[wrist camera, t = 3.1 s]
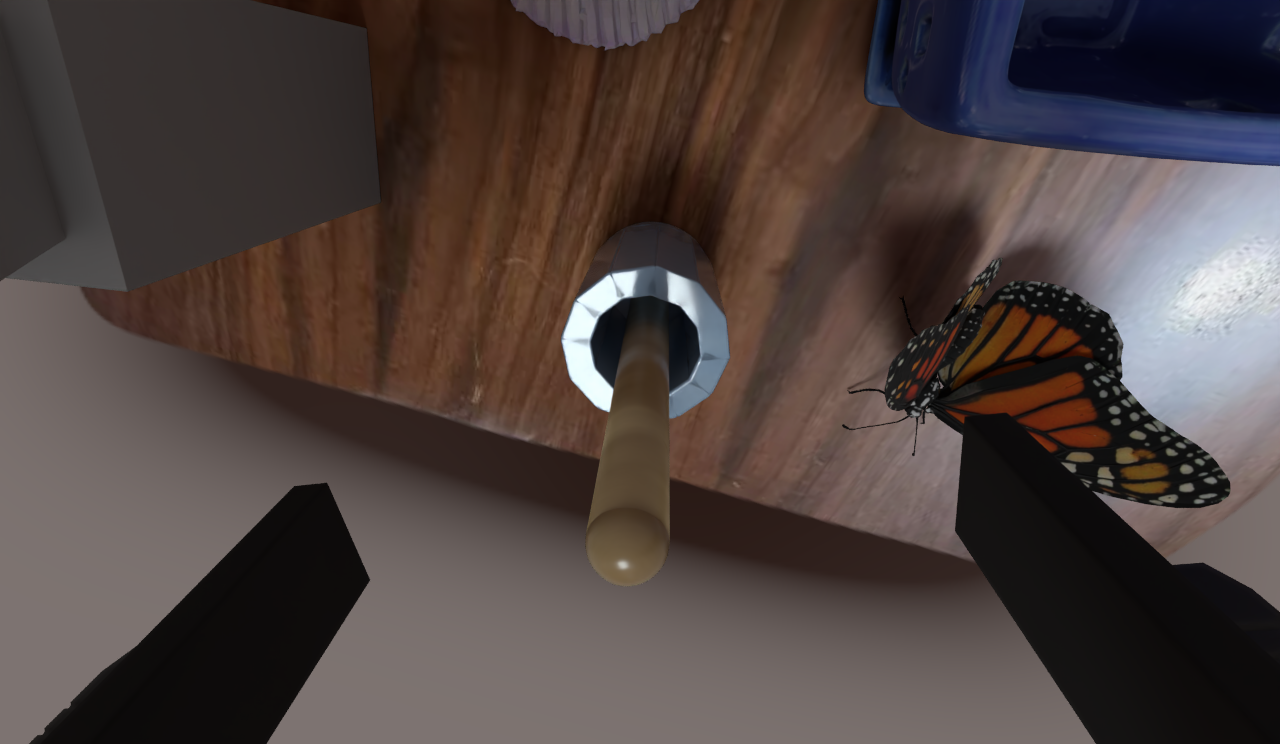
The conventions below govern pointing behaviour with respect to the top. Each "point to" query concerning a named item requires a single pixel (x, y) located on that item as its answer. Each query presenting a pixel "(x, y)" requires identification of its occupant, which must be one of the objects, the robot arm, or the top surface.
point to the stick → (635, 456)
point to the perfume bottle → (173, 134)
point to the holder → (666, 271)
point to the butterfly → (1051, 391)
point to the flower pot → (1088, 74)
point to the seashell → (604, 18)
